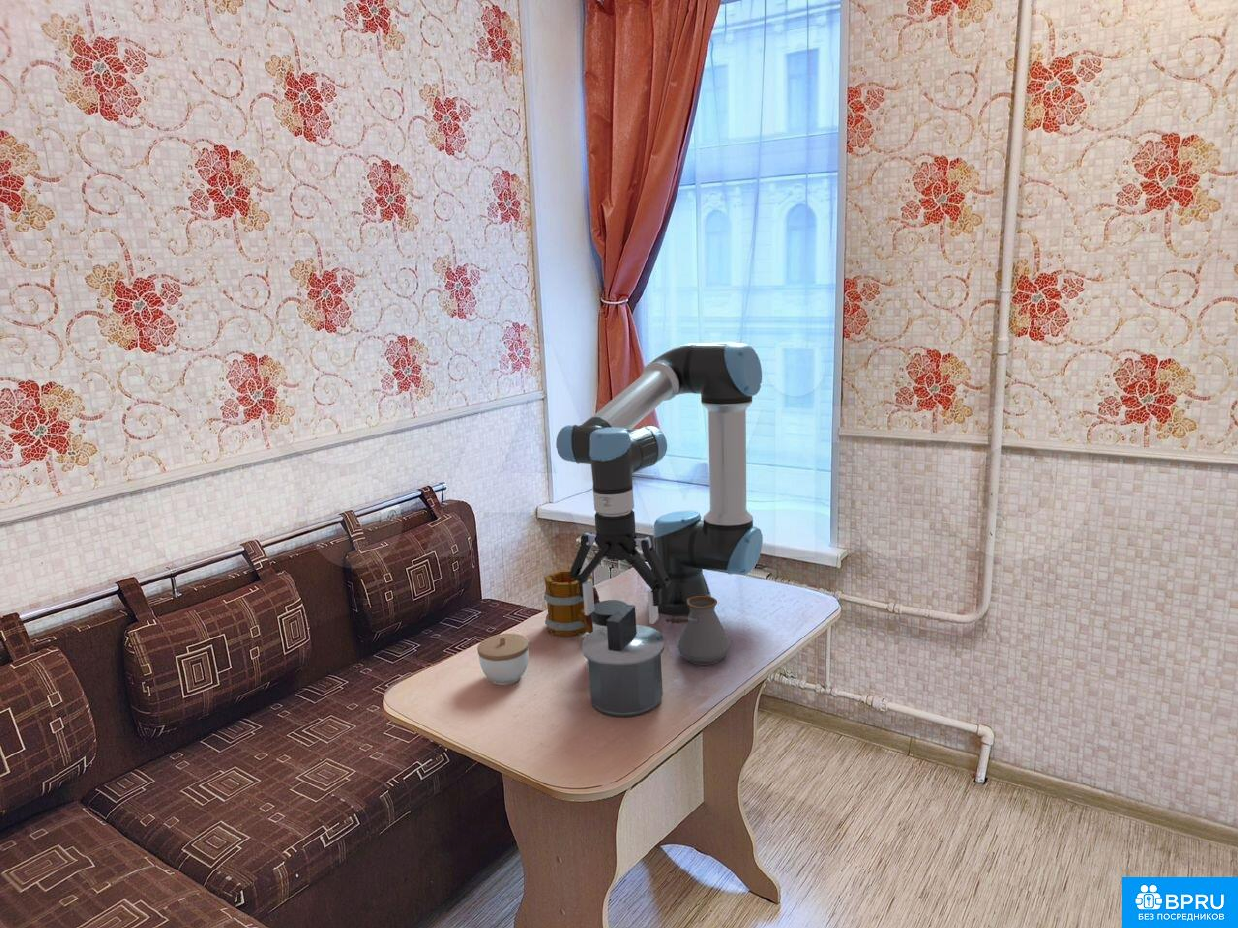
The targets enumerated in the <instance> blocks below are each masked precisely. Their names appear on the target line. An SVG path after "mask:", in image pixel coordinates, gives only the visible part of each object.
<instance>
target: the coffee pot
mask: <svg viewBox="0 0 1238 928" xmlns="http://www.w3.org/2000/svg"><path fill="white" fill-rule="evenodd" d="M717 604H718V601H717V599H716V598H715V597H712V596H711V597H709V596H696V597H692V598H689V599H687V605H688V606H689V608H690V613H689V614H687V615H688V616H687V617H680V616H677V617H674V616H672V617H669V618H668V617H667V619H664V620H662V621H661V626H662V628H663V629H665V630H670V629H671V628H672V627H673V624H684V626H683V628H682V630H681V632H680V636H679V638H678V640H677V645H676V647H677V650H678V652H679V654H680V655H681V656H682V657H683V658H684V659H686V660H687V661H688V663H691V664H694V665H697V666H708V665H709V666H710V665H715V664H716V663H719V662H720V661H721V660H722V659H723V658H724V657H726V656H727V654H728V653H729V651H730V649H731V641H730V639H729V637H728V636H727V634H726V631H725V629H724V626H722V622H721V621H720V619H719V616H718V615H717V613H716V611H715V607H716V605H717ZM664 622H667V623H670V627H668V628H666V627H664V626H663V625H664V624H663V623H664Z"/></svg>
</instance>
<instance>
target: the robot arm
mask: <svg viewBox="0 0 1238 928" xmlns="http://www.w3.org/2000/svg"><path fill="white" fill-rule="evenodd" d="M762 369H763V368H762V364H761V359H760V358H759V355H758V353H757V351H756V350H755V349H754V348H753V346H751V345H749V344H746V343H740V342H738V343H737V342H711V343H708V342H707V343H697V342H696V343H695V342H694V343H693V342H692V343H685V344H681V345H678V346H676V347H673V348H672V349H670V350H668V351H666V352H664V353H662V354H661V355H658V357H656V358H655V359H653V360H652V361H651V362H649V363H648V364H647V365H646V366H645V367H644V368H643V370H642V373H641V375H640V376H639V377H638V378H637V379H636V380H634V381H633V382H632V383H631V384H630V385H628V386H627V387H626V388H625V389H623V390H622V391H621V392H620V393H619V394H617V395H616V396H615V397H614V398H613V399H611V400H610V401H609V402H608V403H606V405H604V406H603V407H602V408H600V409H599V410H598V411H597V412H595V413H594V414H593V415H592V416H591V417H590V418H588V419H587V420H586V421H585V422H583V423H582V424H581V425H577V424H572V425H570V424H569V425H565V426H564V427H562V428H561V429H560V430H559V432H558V433H557V437H556V444H555V445H556V449H557V454H558V456H559V458H561V459H562V460H563V461H565V462H571V463H576V464H584V465H585V464H586V465H587V464H589V465H590V468H591V469H590V470H591V480H592V497H593V499H592V500H593V509H594V512H595V514H594V529H595V532H596V533H595V534H594V533H592V532H591V531H590V530H589V531H588V530H587V531H586V532H585V533H584V534H581V536H580V547H579V549H578V551H577V555H576V556H575V559H574V561H573V563H572V566H571V568H570V570H571V571H570V573H569V577H570V578H571V579H573V578H574V579H576V580H577V581H578V582H579V592H580V596H581V597H584V610H585V615H589V614H590V613H592V612H593V611H594V597H593V587H594V583H593V584H592V579H588V580H587V578H588V577H589V575H591V574H593V572H594V570H595V569H596V568H597V567H598V566H599V564H600V563H601V562H602V561H603V559H604V558H607V560H618V561H624V560H625V562H627V563H628V564H629V565H631V566H632V568H634V570H635V572H637V573H638V575H639V576H640V577H641V578H642V579H643V581H644V582H645V584H647V585H648V587H649V588H648V590H647V606H648V621H649V622H648V623H649V624H650V625H653V624H654V623H656V621H657V620H659V613H663V614H667V615H674V616H677V615H678V616H679V615H681V616H682V615H689V613H690V608H689V606H688V605H687V599H689V598H692V597H696V596H709V597H712V596H711V591H710V589H709V586H708V582H707V581H706V578H705V576H704V572H703V571H704V570H706V571H712V572H717V573H724V574H728V575H738V576H739V575H740V576H744V575H748V574H750V573H751V572H752V571H753V570H754V568H755V567H756V565H757V564H758V561H759V559H760V556H761V552H762V549H763V542H764V540H763V539H764V537H763V533H762V530H761V528H759V527H757V526H754V516H753V515H752V514H751V513H750V512H749V511H748V510H747V432H746V431H747V421H746V419H747V413H746V411H747V409H748V407H750V406H751V404H752V403H753V396H755V395H756V396H757V395H758V393H759V392H760V390H761V388H762V387H761V386H762V385H761V384H762V383H763V370H762ZM683 394H684V395H685V394H695V395H696V394H697V395H700V396H701V397H700V399H701V401H700V402H701V405H702V406H704V407H705V408H706V409H707V416H708V417H707V419H708V420H707V423H708V424H707V427H708V428H707V429H708V430H707V431H708V481H709V483H708V485H709V486H708V489H709V491H708V492H709V495H708V496H709V511H708V512H706V514H705V515H704V516H703V520H702V515H701V513H700V512H699V511H697V510H680V511H674V512H673V511H672V512H669V513H666V514H663V515H661V516H659V517H657V518H656V519H655V521H654V523H653V535H652V537H653V538H652V537H651V536H649V535H648V536H646V537H644V538H643V537H640V538H638V537H637V535H636V517H635V511H634V508H635V501H634V497H635V496H634V488H633V487H634V486H633V485H634V484H633V474H634V473H637V472H638V471H639V472H640V471H641V470H643V469H646V468H648V467H652V466H654V465H655V464H657V463H658V462H660V461H662V460H663V459H664V458H665V456H666V454H667V451H668V442H667V438H666V435H665V434H664V433H663V431H662V430H660V429H659V428H658V427H655V426H654V425H653V426H652V425H647V426H640V427H639V428H637V429H634V428H635V427H636V426H637V425H638V424H639V423H641V421H643V420H644V419H645V418H646V417H647V416H648V415H649V414H651V413H652V412H653V411H655V409H656V408H657V407H658V406H659V405H660V404H662V403H663V402H665V401H671V400H672V399H674V398H675V397H676V396H678V395H683ZM593 544H596V545H597V547H598V549H599V550H598V551H597V552H596V553H595V555H594V557H593V558H592V559H591V561H589V563H588V564H587V565H586V566H585V568H584V569H583V566H584V565H585V561H586V559H587V556H588V555H589V552H590V549H591V546H592V545H593ZM637 546H638V547H639V550H640V551H642V554H643V556H644V558H645V560H646V562H647V563H646V562H645V560H644V559H643V558H642V556H641V553H640V552H639V551H638V550H637V548H636V547H637ZM582 569H583V571H581V570H582Z"/></svg>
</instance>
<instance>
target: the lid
mask: <svg viewBox="0 0 1238 928" xmlns="http://www.w3.org/2000/svg"><path fill="white" fill-rule="evenodd" d="M588 634H589V633H588ZM588 634H586V635H587V636H586V635H585V637H584V638H583V640H582V643H581V651H582V655H583V656H584V657H585V659H587V661H588V660H589V661H591V662H593V663H596V664H599V665H604V666H611V667H626V666H634V665H639V664H643V663H646V662H648V661H651V660H653V659H655V658H656V657H658V656H659V655H660V654H661V655H662V653H663V651H664V650H665V638H664V635H663V634H662V633H661V632H660V631H658V630H657V629H655V628H652V627H650V626H646V625H642V624H637V617H636V605H633V604H631V605H630V604H627V605H625V604H623V605H622V606H621V607H620V608H619V609H618V610H617V611H616V612H615V613H614V614H613V615H612V616H611V617H610V618H609V619H608V620H607V627H604V628H601V629H598V630H596V631H594V632H592V633H590V634H589V635H588Z"/></svg>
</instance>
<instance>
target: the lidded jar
mask: <svg viewBox="0 0 1238 928" xmlns="http://www.w3.org/2000/svg"><path fill="white" fill-rule="evenodd" d="M529 647H530V643H529V640H528V638H527V637H526V636H523V635H522V634H516V633H500V634H496V635H492V636H490V637H487V638H485V639H483V640H482V641H480V643H479V644H477V647H476V648H477V654H478V661H479V666H480V668H481V671H482V673H483V674H484V676H486V677H487V679H489V680H490V681H491V682H492V683H494V684H495V685H499V686H506V685H507V686H509V685H513V684H515V683H517V682H519V681H520V679H521V678H522V676H523V675H524V674H525V672H526V671H527V669H528V666H529V661H530V650H529Z"/></svg>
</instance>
